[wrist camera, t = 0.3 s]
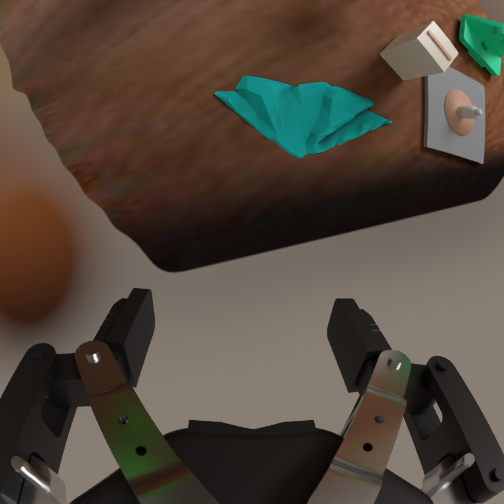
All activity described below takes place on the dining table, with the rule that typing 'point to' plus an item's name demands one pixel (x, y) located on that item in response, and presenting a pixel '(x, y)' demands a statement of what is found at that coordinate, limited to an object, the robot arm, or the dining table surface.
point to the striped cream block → (420, 52)
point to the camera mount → (483, 41)
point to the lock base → (455, 115)
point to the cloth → (302, 113)
